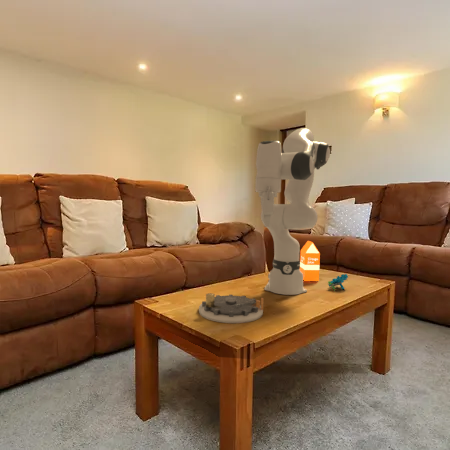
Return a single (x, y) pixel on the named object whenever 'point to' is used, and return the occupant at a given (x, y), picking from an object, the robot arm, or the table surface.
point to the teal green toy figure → (338, 281)
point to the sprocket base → (235, 318)
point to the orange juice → (310, 262)
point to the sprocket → (230, 305)
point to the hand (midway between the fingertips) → (266, 226)
